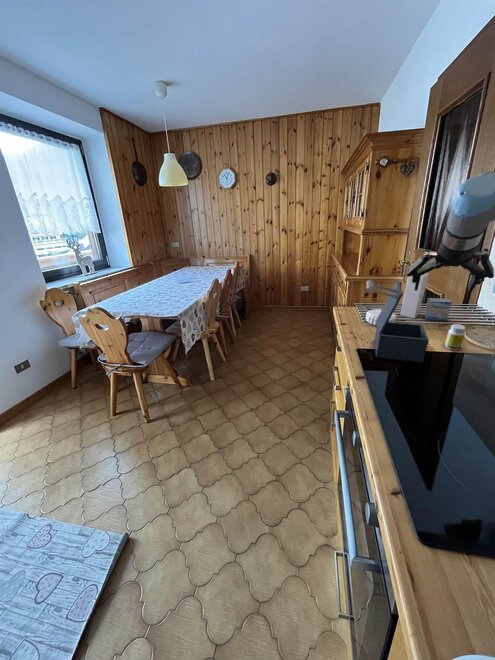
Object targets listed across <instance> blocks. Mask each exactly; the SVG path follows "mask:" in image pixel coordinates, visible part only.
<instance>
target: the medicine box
mask: <svg viewBox="0 0 495 660" xmlns="http://www.w3.org/2000/svg"><path fill="white" fill-rule="evenodd" d="M452 304H453V302H452V301H451V299H450V298H438V297H428V298H427V301H426V306H425V310H424V314H423V316H424V318H425V319H426V320H427V321H444V322H445V321H446V322H447V321H448V317H449V314H450V311H451V308H452Z"/></svg>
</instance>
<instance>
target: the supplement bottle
mask: <svg viewBox="0 0 495 660" xmlns="http://www.w3.org/2000/svg"><path fill="white" fill-rule="evenodd" d="M465 331H466V326H465V325H462V324H460V323H453V324H452V325H450V329H448V332H447V335H446V339H445V342H444V347H445V348H446V349H449V350H451V351H458V350H460V349H461V347H462V344H463V341H464V339H465V338H464V337H465V335H466V332H465Z"/></svg>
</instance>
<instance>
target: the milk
mask: <svg viewBox="0 0 495 660" xmlns="http://www.w3.org/2000/svg"><path fill="white" fill-rule="evenodd" d="M412 277H413V276H410V277H408V276H407V281H406V285H405V289H404V293H403V300H402V305H401V308H400V313H399V315H400V316H403V317H407V318H411V319H415V318H416V317H418V316H419V315H420V312H421V308H422V305H423V299H424V297H425V290H426V287H427V282H428V279H429V272H428V273H426V274H423V275H421V276H420V282H419V286H418V290H417V291H415V283H412Z"/></svg>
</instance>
